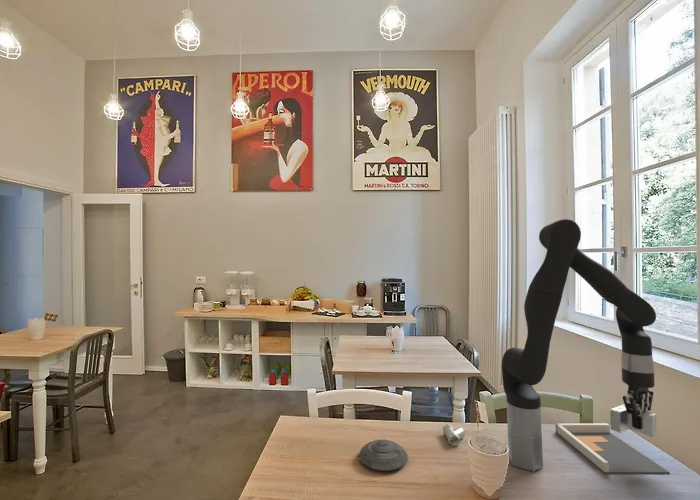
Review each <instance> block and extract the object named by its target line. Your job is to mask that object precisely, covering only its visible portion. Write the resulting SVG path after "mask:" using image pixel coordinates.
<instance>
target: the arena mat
mask: <svg viewBox="0 0 700 500" xmlns="http://www.w3.org/2000/svg"><path fill="white" fill-rule="evenodd" d="M555 433H556V434H557V435H559V436H560V437H561V438H562V439H563V440H564V441H566V442H567V443H568V444H569V445H570V446H571V447H573V448H574V450H576V451H577V452H579V453H580V454H581V455H582V456H584V457H585V458H586V459H587V460H588V461H589V462H590V463H592V465H594V466H595V467H596V468H598V469H599V470H600V471H601V472H602V473H604V474H633V475H634V474H637V475H638V474H641V475H643V474H647V475H648V474H652V475H654V474H655V475H656V474H657V475H658V474H659V475H660V474H662V475H663V474H665V475H666V474H670V471H669V470H667V469H665V468H664V467H663V466H661V465H660V464H658V463H657V462H655V461H654V460H652V459H650V458H649V457H648V456H646V455H644V454H643V453H641V452H640V451H639V450H637V449H635V448H634V447H633V446H631V445H630V444H628V443H626V441H623V440H622V439H620V438H619V437H617V436H616V435H614V433H612V432H610V433H572V434H573V435H574V436H575V437H577V438H578V439H579V440H580V441H582V442H583V443H584V444H585V445H587V446H588V447H589V448H591V449H592V450H593V451H594V452H596V453H597V454H598V455H599V456H601V457H602V458H603V459H605V460H606V461H607V462H608V465H609V472H604V471H603V470H602V469H600V468H599V467H598V466H597V465H596V464H594V463H593V462H592V461H591V460H590V459H588V458H587V457H586V456H585V455H584V454H582V453H581V452H580V451H579V450H578V449H577V448H575V447H574V446H573V445H572V444H571V443H569V442H568V441H567V440H566V439H565V438H563V437H562V436H561V435H560V434H559V433H557V432H556V431H555Z"/></svg>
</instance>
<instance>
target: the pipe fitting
mask: <svg viewBox="0 0 700 500" xmlns="http://www.w3.org/2000/svg"><path fill="white" fill-rule="evenodd" d="M442 433H443V434H444V436H446V439H447V442H448V444H449V445H450V446H452V447H457V446H459V445H460V443H461V439H463V438H464V437H465V434H466V433H465V430H464V429H463V428H462V427H459V426H458V427H456V428H455V429H454V427H453V426H452V425H451V424H449V423H447V424H445V425H443V426H442Z"/></svg>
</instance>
